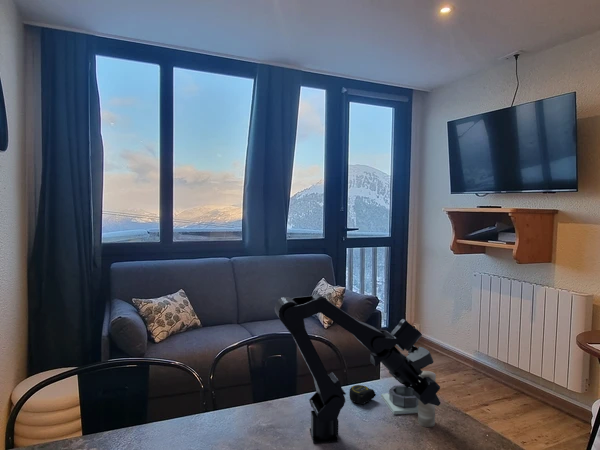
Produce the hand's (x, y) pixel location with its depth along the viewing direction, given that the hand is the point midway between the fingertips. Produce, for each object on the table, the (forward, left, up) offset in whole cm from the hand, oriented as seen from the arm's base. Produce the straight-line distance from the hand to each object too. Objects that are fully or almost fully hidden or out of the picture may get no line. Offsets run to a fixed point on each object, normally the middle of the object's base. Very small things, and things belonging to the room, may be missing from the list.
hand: (431, 397), depth 114 cm
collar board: (-3, +11, -7) cm, 13 cm away
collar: (-3, +11, -7) cm, 13 cm away
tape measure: (-16, +15, -7) cm, 23 cm away
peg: (-1, 0, -7) cm, 7 cm away
